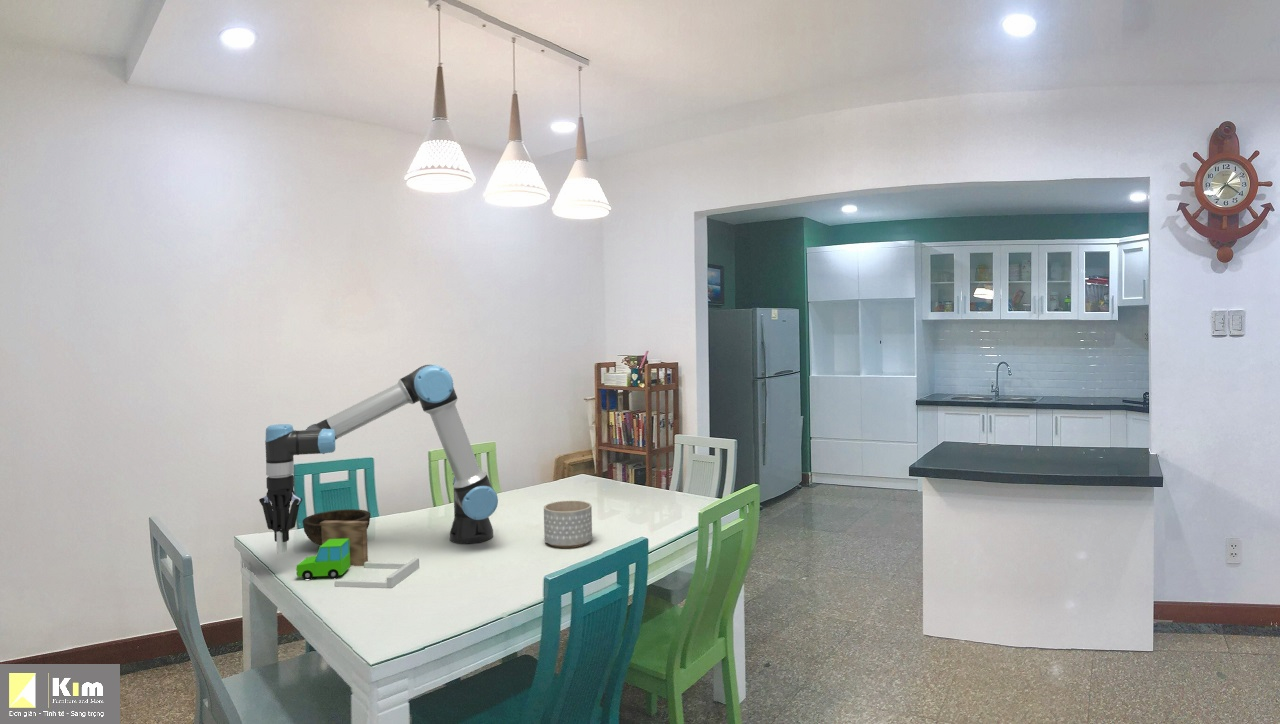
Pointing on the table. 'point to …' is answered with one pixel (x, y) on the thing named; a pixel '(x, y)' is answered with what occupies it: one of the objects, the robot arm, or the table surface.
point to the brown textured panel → (348, 530)
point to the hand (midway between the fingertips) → (282, 552)
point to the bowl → (313, 521)
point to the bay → (392, 580)
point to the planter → (567, 523)
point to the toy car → (327, 560)
